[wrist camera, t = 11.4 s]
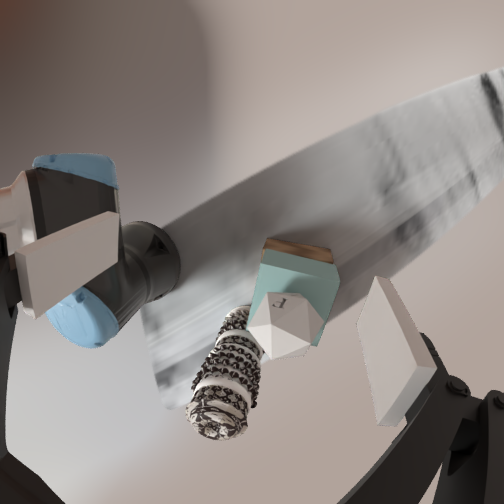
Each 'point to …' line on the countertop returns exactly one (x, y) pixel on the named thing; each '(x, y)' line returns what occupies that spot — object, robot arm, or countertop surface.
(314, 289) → the tower top
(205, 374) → the decorative candle
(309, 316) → the die
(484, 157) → the countertop surface
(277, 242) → the tower base
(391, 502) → the robot arm
